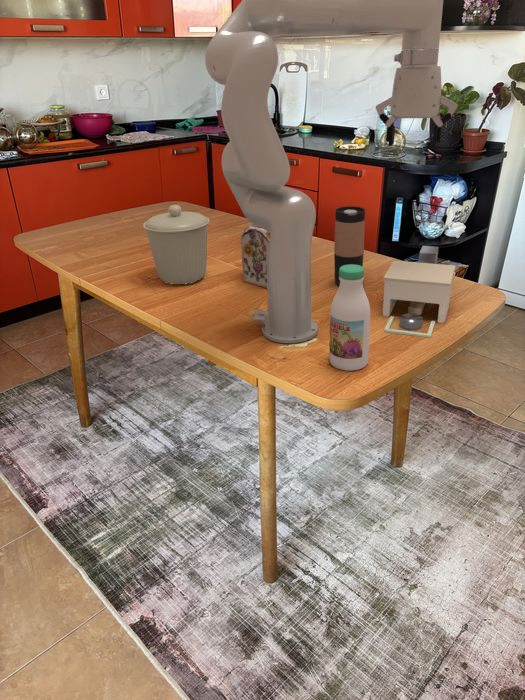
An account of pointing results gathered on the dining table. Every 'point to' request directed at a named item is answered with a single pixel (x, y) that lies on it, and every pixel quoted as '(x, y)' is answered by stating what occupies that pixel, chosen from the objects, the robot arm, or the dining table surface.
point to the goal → (409, 331)
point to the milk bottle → (350, 321)
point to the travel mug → (348, 238)
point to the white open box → (418, 285)
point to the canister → (178, 245)
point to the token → (410, 321)
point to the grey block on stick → (425, 256)
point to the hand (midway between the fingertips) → (412, 145)
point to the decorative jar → (255, 254)
